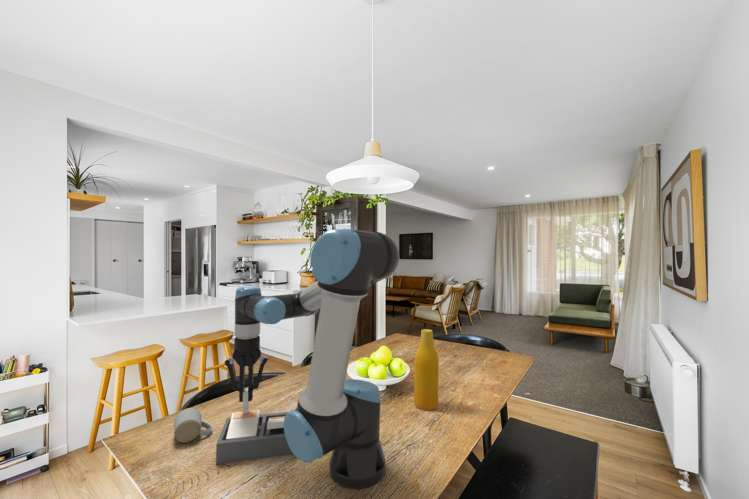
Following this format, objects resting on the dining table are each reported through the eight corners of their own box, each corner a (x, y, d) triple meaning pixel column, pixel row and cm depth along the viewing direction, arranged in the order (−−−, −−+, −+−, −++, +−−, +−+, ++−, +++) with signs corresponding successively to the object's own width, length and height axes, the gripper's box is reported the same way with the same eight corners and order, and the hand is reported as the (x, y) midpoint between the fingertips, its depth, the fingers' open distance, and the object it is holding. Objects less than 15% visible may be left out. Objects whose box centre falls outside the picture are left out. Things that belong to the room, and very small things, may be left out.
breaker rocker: (257, 440, 97) (257, 435, 96) (224, 443, 94) (224, 438, 94) (260, 414, 106) (260, 409, 105) (231, 417, 104) (231, 412, 103)
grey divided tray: (301, 453, 97) (302, 424, 97) (216, 464, 91) (216, 433, 91) (300, 427, 111) (301, 402, 111) (226, 435, 106) (227, 408, 106)
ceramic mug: (173, 447, 99) (174, 421, 99) (173, 434, 106) (174, 410, 106) (212, 438, 104) (214, 413, 104) (210, 426, 111) (211, 403, 111)
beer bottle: (442, 405, 129) (443, 330, 129) (429, 413, 122) (430, 334, 122) (423, 398, 135) (423, 326, 136) (409, 405, 128) (410, 330, 129)
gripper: (269, 332, 109) (268, 404, 109) (227, 333, 106) (225, 407, 106) (268, 338, 102) (266, 415, 102) (222, 340, 99) (220, 419, 99)
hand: (245, 411), depth 104 cm, fingers closed
